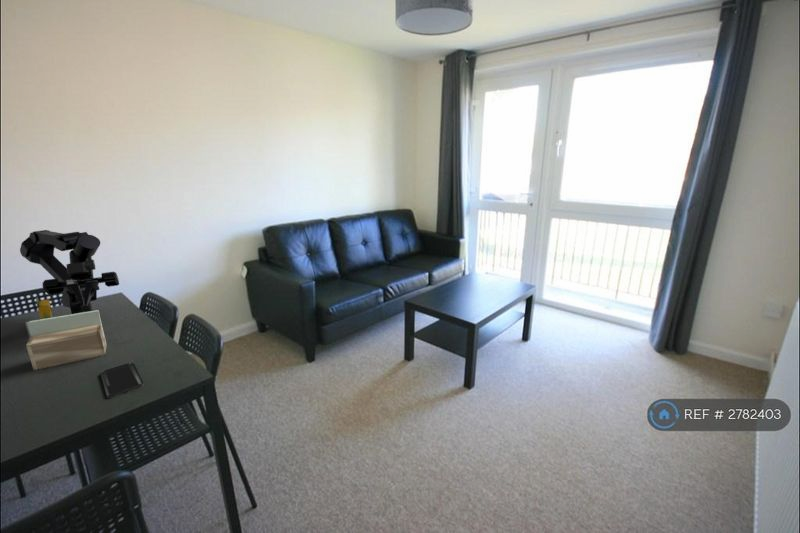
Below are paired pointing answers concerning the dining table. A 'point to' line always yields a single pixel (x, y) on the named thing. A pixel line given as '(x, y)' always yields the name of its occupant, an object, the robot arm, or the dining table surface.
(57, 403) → the dining table surface
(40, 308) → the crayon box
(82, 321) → the flap
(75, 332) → the crate
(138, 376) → the phone
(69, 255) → the robot arm
